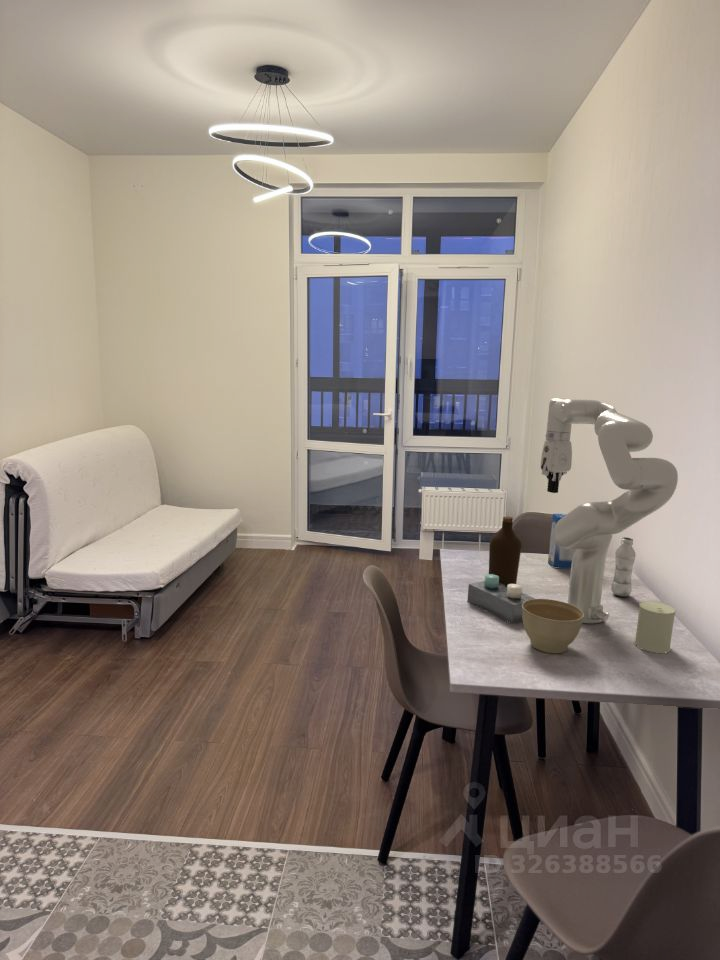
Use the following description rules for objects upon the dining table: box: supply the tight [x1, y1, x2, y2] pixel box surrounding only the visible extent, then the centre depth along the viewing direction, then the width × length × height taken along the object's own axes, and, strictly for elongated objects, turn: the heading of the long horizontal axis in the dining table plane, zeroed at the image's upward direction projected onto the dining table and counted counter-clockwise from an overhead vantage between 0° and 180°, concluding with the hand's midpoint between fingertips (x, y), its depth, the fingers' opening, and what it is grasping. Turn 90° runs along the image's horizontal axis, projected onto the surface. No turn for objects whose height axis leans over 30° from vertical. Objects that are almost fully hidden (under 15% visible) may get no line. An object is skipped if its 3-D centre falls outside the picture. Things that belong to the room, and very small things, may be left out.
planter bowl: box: [522, 598, 584, 654], centre depth 175 cm, size 16×16×11 cm
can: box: [634, 600, 677, 654], centre depth 178 cm, size 9×9×12 cm
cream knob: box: [507, 583, 523, 599], centre depth 197 cm, size 4×4×9 cm
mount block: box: [466, 580, 536, 625], centre depth 201 cm, size 20×10×6 cm, turn 32°
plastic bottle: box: [610, 536, 637, 598], centre depth 218 cm, size 6×7×20 cm
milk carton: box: [547, 513, 577, 569], centre depth 249 cm, size 10×6×20 cm, turn 94°
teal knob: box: [484, 573, 499, 589], centre depth 205 cm, size 4×4×9 cm
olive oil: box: [488, 516, 522, 586], centre depth 220 cm, size 11×11×25 cm
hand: (552, 492), depth 212 cm, fingers closed
